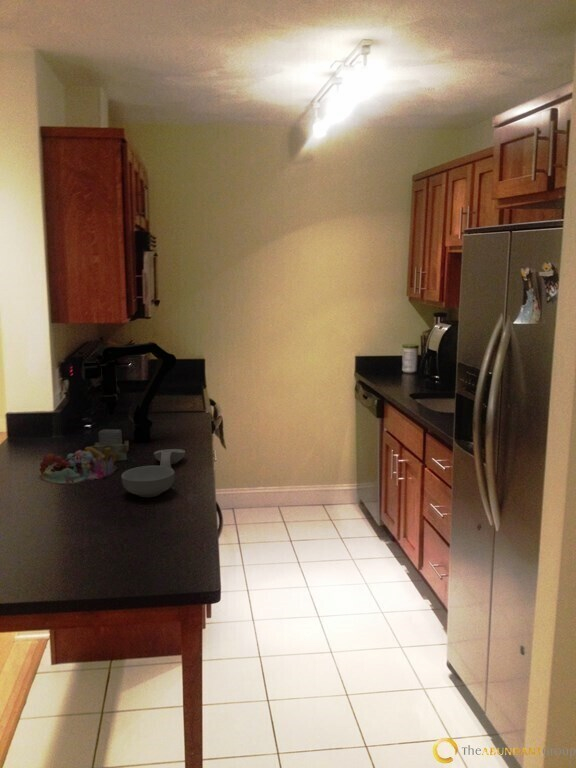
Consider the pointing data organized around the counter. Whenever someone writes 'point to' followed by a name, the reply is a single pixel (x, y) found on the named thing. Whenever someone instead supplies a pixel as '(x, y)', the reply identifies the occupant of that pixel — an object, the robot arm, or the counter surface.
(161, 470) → the cereal bowl
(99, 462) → the candy landscape model
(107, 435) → the medicine box
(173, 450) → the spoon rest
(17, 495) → the counter surface
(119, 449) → the pair of wooden bars
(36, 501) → the counter surface
